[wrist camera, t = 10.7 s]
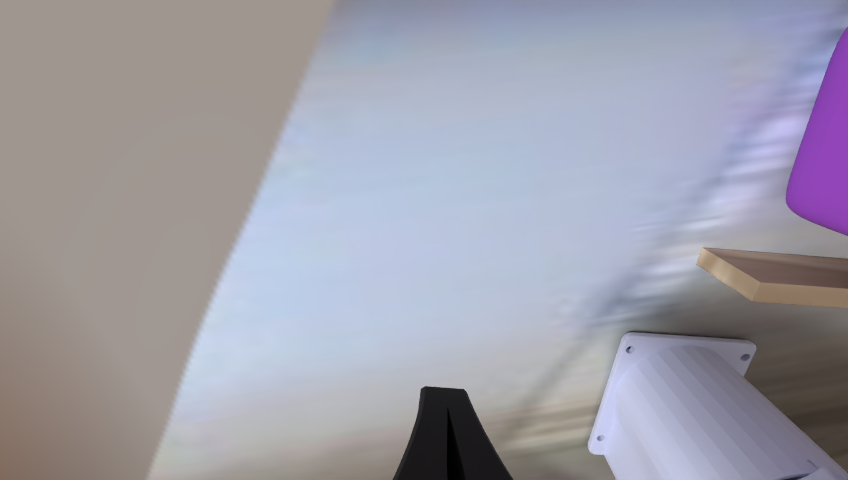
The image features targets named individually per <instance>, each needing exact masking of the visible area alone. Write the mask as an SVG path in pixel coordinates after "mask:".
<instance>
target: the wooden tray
mask: <svg viewBox="0 0 848 480" xmlns="http://www.w3.org/2000/svg"><path fill="white" fill-rule="evenodd" d="M697 265H698V266H700V267H701V268H703V269H704V270H706V271H707V272H709V273H710V274H712V275H713V276H715V277H716V278H718V279H719V280H721V281H722V282H724V283H725V284H727V285H728V286H730V287H731V288H733V289H734V290H736V291H737V292H739V293H740V294H742V295H743V296H744V297H746V298H747V299H749V300H750V301H752V302H765V303H779V304H793V305H806V306H820V307H834V308H848V259H842V258H829V257H816V256H803V255H790V254H777V253H764V252H751V251H738V250H725V249H712V248H702V251H701V254H700V256H699V259H698V262H697Z"/></svg>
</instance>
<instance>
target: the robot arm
mask: <svg viewBox="0 0 848 480" xmlns="http://www.w3.org/2000/svg"><path fill="white" fill-rule="evenodd" d="M630 346H631V348H629V349H627V348H628V347H630ZM756 349H757V348H756V345H755V344H754V343H752V342H751V341H749V340H739V339H724V338H710V337H695V336H680V335H665V334H651V333H636V332H630V333H627V334H625V335H624V336H623V337H622V339H621V342H620V345H619V348H618V352H617V355H616V358H615V361H614V364H613V367H612V370H611V373H610V377H609V380H608V383H607V386H606V389H605V392H604V395H603V398H602V402H601V405H600V408H599V411H598V414H597V417H596V420H595V423H594V426H593V430H592V433H591V436H590V439H589V442H588V449H589V451H590V452H591V453H592V454H599V455H604V456H605V458H606V460H607V462H608V464H609V466H610V468H611V470H612V472H613V474H614V476H615V478H616V480H848V473H847V472H846V471H845V470H844V469H843V468H842V467H841V466H840V465H838V464H837V463H836V462H835V461H834V460H833V459H832V458H831V457H830V456H829V455H828V454H827V453H825V452H824V451H823V450H822V449H821V448H820V447H819V446H818V445H817V444H816V443H815V442H814V441H812V440H811V439H810V438H809V437H808V436H807V435H806V434H805V433H804V432H803V431H802V430H800V429H799V428H798V427H797V426H796V425H795V424H794V423H793V422H792V421H791V420H790V419H789V418H787V417H786V416H785V415H784V414H783V413H782V412H781V411H780V410H779V409H778V408H777V407H776V406H774V405H773V404H772V403H771V402H770V401H769V400H768V399H767V398H766V397H765V396H764V395H763V394H761V393H760V392H759V391H758V390H757V389H756V388H755V387H754V386H753V385H752V384H751V383H749V382H748V381H747V380H746V379H745V378H744V375H745V373H746V371H747V369H748V367H749V364H750V362H751V360H752V358H753V356H754V354H755V352H756ZM742 355H743V356H742ZM393 480H513V478H512V477H511V475H510V474H509V472H508V471H507V469H506V467H505V466H504V464H503V463H502V461H501V459H500V458H499V456H498V454H497V453H496V451H495V449H494V447H493V445H492V444H491V442H490V440H489V438H488V436H487V435H486V433H485V431H484V429H483V427H482V425H481V423H480V421H479V419H478V417H477V415H476V413H475V411H474V409H473V406H472V404H471V402H470V399H469V397H468V394H467V392H466V391H465V390H464V389H454V388H440V387H427V386H425V387H423V388H422V389H421V393H420V401H419V409H418V414H417V418H416V422H415V425H414V428H413V431H412V434H411V437H410V440H409V443H408V445H407V448H406V450H405V453H404V455H403V458H402V460H401V462H400V465H399V467H398V469H397V472H396V474H395V476H394V478H393Z"/></svg>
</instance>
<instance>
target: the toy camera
mask: <svg viewBox="0 0 848 480" xmlns="http://www.w3.org/2000/svg"><path fill="white" fill-rule="evenodd" d="M786 203H787V205H788V207H789V208H790V209H791V210H792V211H793V212H794V213H796V214H797V215H799V216H800V217H802V218H804V219H806V220H808V221H811V222H813V223H815V224H818V225H820V226H823V227H826V228H828V229H831V230H834V231H836V232H839V233H842V234H844V235H847V236H848V27H847V29H846V30H845V31H844V33H843V34H842V36H841V38H840V40H839V41H838V43H837V45H836V48H835V50H834V52H833V55H832V57H831V59H830V62H829V65H828V68H827V71H826V73H825V76H824V79H823V82H822V85H821V87H820V90H819V93H818V96H817V99H816V102H815V105H814V108H813V110H812V113H811V116H810V119H809V122H808V125H807V128H806V131H805V134H804V137H803V139H802V142H801V145H800V148H799V151H798V154H797V157H796V160H795V163H794V166H793V169H792V172H791V175H790V179H789V183H788V186H787V192H786Z"/></svg>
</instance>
